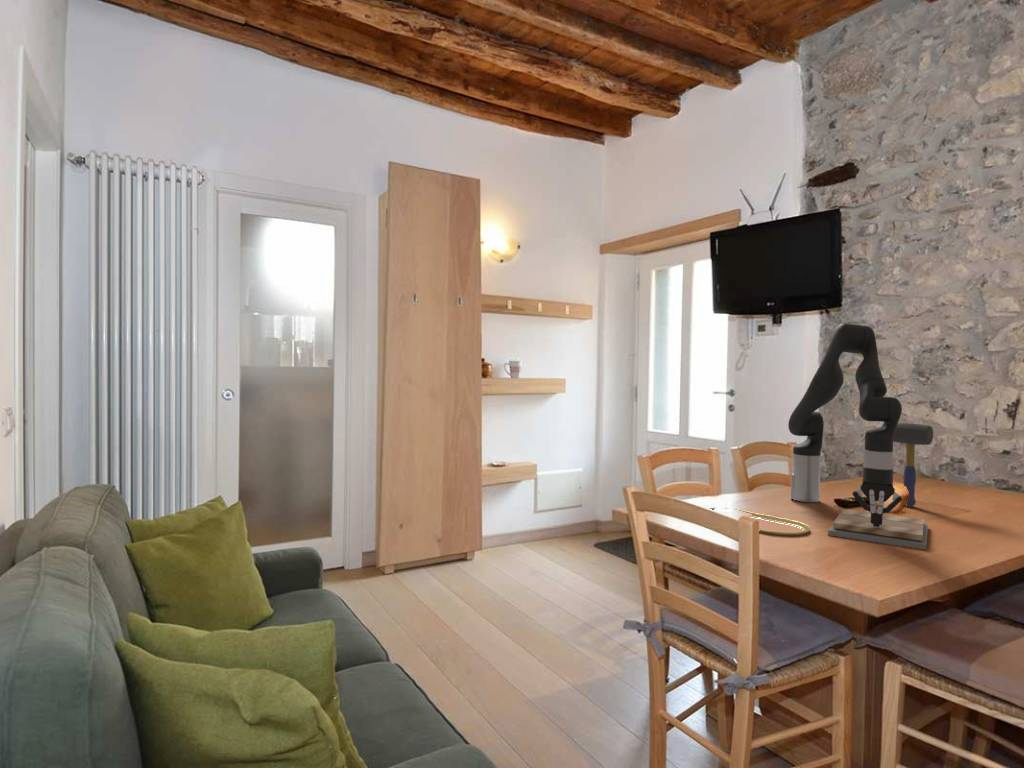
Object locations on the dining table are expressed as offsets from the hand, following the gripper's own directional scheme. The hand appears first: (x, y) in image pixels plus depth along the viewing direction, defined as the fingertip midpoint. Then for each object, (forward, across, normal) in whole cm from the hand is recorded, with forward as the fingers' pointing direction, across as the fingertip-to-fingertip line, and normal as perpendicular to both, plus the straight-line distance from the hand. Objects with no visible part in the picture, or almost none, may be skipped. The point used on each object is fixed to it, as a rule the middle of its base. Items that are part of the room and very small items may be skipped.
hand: (876, 525), depth 176 cm
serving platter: (+5, +34, +3) cm, 34 cm away
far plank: (+2, 0, -18) cm, 18 cm away
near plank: (+2, 0, -2) cm, 3 cm away
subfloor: (+4, 0, -10) cm, 11 cm away
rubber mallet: (+4, -6, -57) cm, 57 cm away
